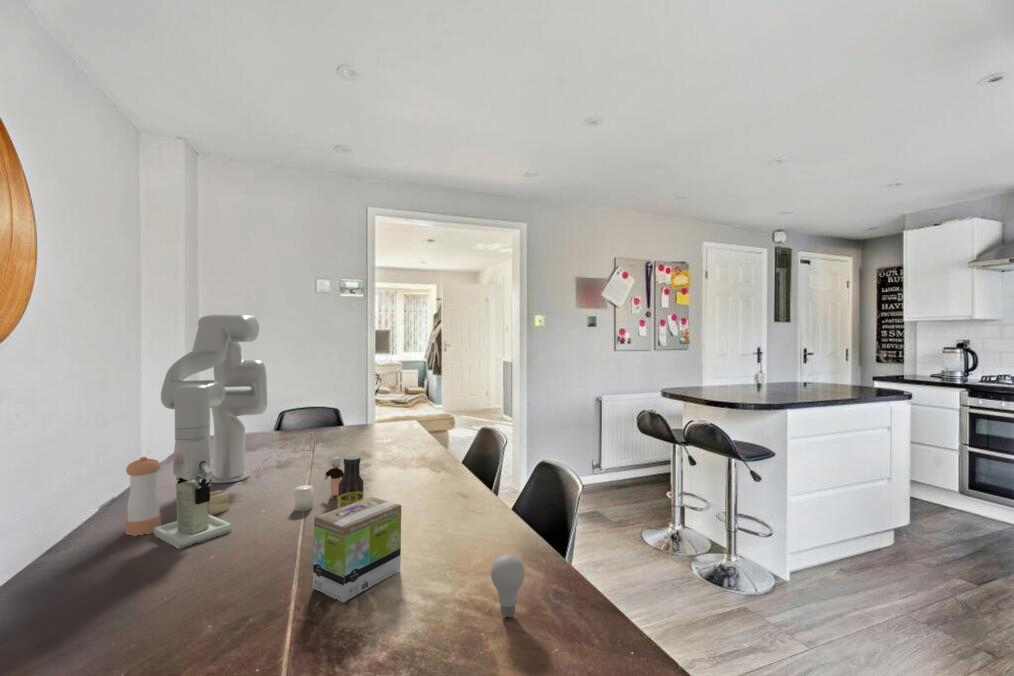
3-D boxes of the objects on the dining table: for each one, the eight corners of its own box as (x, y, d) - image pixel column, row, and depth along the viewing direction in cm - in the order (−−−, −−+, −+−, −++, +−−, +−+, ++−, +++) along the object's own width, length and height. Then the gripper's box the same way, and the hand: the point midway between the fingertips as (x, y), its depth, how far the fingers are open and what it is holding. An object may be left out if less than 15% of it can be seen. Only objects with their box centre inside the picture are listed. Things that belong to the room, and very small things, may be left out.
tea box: (345, 605, 88) (344, 527, 88) (311, 589, 93) (311, 516, 93) (402, 571, 100) (402, 502, 100) (370, 559, 106) (370, 494, 106)
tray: (153, 535, 118) (153, 527, 118) (205, 519, 128) (205, 512, 128) (178, 549, 110) (178, 541, 110) (231, 531, 120) (231, 523, 120)
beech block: (201, 511, 134) (201, 494, 134) (220, 506, 138) (220, 489, 138) (210, 515, 131) (210, 497, 131) (228, 509, 136) (228, 492, 136)
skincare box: (209, 528, 120) (209, 481, 120) (193, 535, 116) (192, 486, 116) (192, 524, 123) (192, 478, 123) (175, 531, 119) (175, 483, 119)
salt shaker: (167, 527, 123) (167, 455, 123) (135, 538, 116) (135, 462, 116) (151, 522, 126) (150, 452, 126) (119, 533, 119) (119, 458, 119)
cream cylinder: (290, 509, 136) (290, 488, 136) (306, 504, 140) (306, 484, 140) (301, 512, 133) (301, 491, 133) (316, 507, 137) (316, 487, 137)
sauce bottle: (338, 543, 114) (338, 462, 113) (335, 533, 119) (334, 456, 119) (365, 537, 117) (365, 459, 117) (361, 528, 122) (361, 453, 122)
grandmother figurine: (350, 495, 147) (350, 455, 147) (344, 499, 144) (344, 458, 144) (326, 494, 148) (326, 455, 148) (320, 498, 144) (320, 458, 144)
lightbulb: (490, 607, 87) (490, 549, 87) (522, 606, 87) (522, 548, 87) (491, 628, 81) (491, 565, 81) (526, 626, 81) (526, 563, 81)
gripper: (160, 431, 121) (161, 496, 121) (192, 440, 111) (193, 511, 112) (192, 425, 127) (193, 487, 127) (225, 434, 118) (226, 501, 118)
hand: (193, 498), depth 120 cm, fingers open, 9 cm apart
